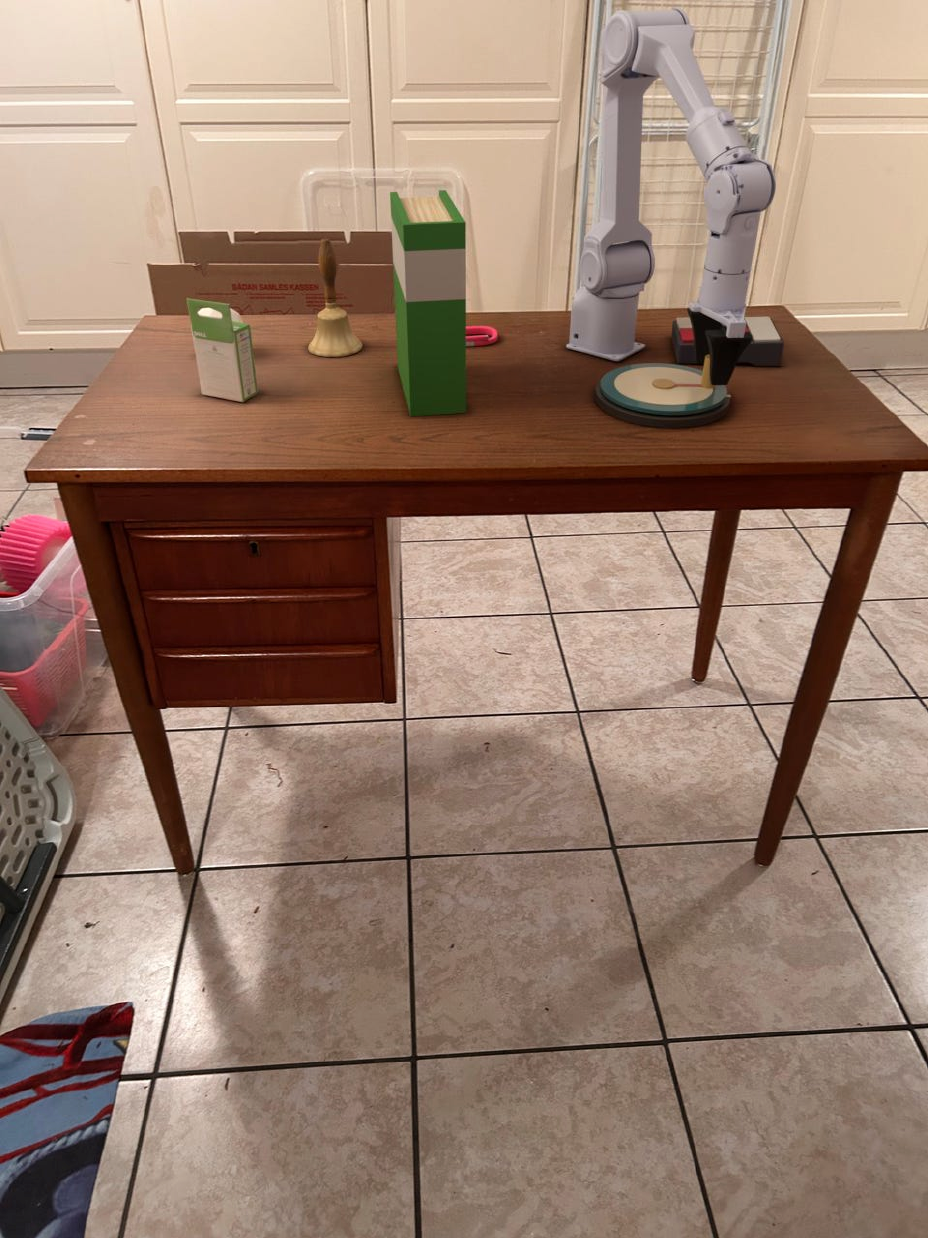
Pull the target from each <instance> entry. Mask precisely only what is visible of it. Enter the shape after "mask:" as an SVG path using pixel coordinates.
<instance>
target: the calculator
mask: <svg viewBox="0 0 928 1238" xmlns="http://www.w3.org/2000/svg"><path fill="white" fill-rule="evenodd" d="M744 320H745V322H746V327H745V332H750V333H751V334H752V336H753V338H752V341H751V343H750V344H749V345H748V346H747V347H746V349H745V350H744V351H743V353H742V354H741V356H740V358H739V360H738V362H737V364H739V363H740V364H741V363H748V364H751V365H752V366H754V367H779V366H781V365H782V359H783V352H784V345H785V342H784V339H783V337H782V335H781V333H780V332H779V329H778V328H777V326H776V324H775V322H774V320H773V318H771V317H770V316H745V317H744ZM670 337H671V338H670V340H671V343H672V347H673V352H674V355H675V359H676V363H677V364H678V365H687V364H689V365H691V364H692V365H693V364H696V365H697V363H696V360H695V351H694V336H693V329H692V324H691V320H690V317H689V316H688V317H676V319H675V320H672V325H671V336H670Z"/></svg>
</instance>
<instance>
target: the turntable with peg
mask: <svg viewBox="0 0 928 1238" xmlns="http://www.w3.org/2000/svg"><path fill="white" fill-rule="evenodd" d="M600 381H601V391H602V393H603V395H604V396H605V397H606V398H607V399H609V400H610V401H612V402H614V403H615V404H617V405H620V406H622V407H625V408H628V409H631V410H635V411H639V412H644V413H650V414H658V415H689V414H696V413H701V412H705V411H709V410H711V409H714V408H716V407H718V406H719V405H721V404H722V403H723V402H724V401H725V399H726V395H727V390H728V389H727V385H711V382H710V355H706V356H705V360H704V363H703V368H702V370H701V369H698V368H694V367H690V366H688V365H687V366H686V365H682V364H675V363H663V362H648V363H634V364H628V365H623V366H621V367H617V368H614V369H613V370H612V369H611V370H610V371H609V372H606V374H604V375H603V377H602V378H601V379H600Z"/></svg>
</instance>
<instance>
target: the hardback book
mask: <svg viewBox="0 0 928 1238" xmlns="http://www.w3.org/2000/svg"><path fill="white" fill-rule="evenodd" d="M389 198H390V221H391V239H392V240H391V243H392V244H391V245H392V246H391V247H392V267H393V288H394V291H393V292H394V309H395V311H394V312H395V332H396V333H395V334H396V351H397V352H396V355H397V357H396V358H397V369H398V373H399V377H400V381H401V384H402V389H403V393H404V396H405V400H406V404H407V408H408V412H409V416H410V417H423V416H438V415H452V414H466V413H467V347H466V336H467V335H466V327H467V273H466V272H467V268H466V267H467V259H466V258H467V257H466V256H467V255H466V254H467V249H466V248H467V245H466V242H467V241H466V240H467V239H466V237H467V234H466V231H467V230H466V229H467V227H466V226H467V224H466V220H465V218H464V217H463V216H462V214H461V212H460V211H459V209H458V208H457V206H456V205H455V203H454V201H453V200H452V198H451V197H450V195H449V193H448V192H447V190H446V189H439V190H438V196H423V197H422V196H420V197H400V195H399V193H398V191H390V192H389Z"/></svg>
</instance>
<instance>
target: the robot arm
mask: <svg viewBox="0 0 928 1238" xmlns="http://www.w3.org/2000/svg"><path fill="white" fill-rule="evenodd" d="M695 40H696V30H695V29H694V27H693V26H692V25H691V21H690V18H689V15H688V14H687V12H686V11H684V9H682V8H679V7H673V8H670V9H657V10H656V9H655V10H653V9H652V10H631V11H628V10H625V9H623V10H622V9H620V10H618V11H615V12H614V13H613V14H611V16H610V18H609V20H608V21H607V23H606V24H605V26H604V28H603V29H602V31H601V33H600V83H601V85H602V129H601V131H602V133H601V135H602V136H601V140H602V141H601V149H602V150H601V191H600V193H601V195H600V199H601V200H600V221H598V223H597V224H596V225H594V227H592V228H591V230H589V231H588V232H587V233H586V234H585V236H584V237H583V250H582V253H581V257H580V260H579V265H578V267H579V270H578V271H579V277H580V280H581V283H582V286H580V287H579V288H578V290H576V292H575V293H574V297H573V300H572V303H571V310H570V311H571V312H570V327H569V341H568V342H569V343H567V344H566V349H569V350H572V351H576V352H579V353H583V354H587V355H591V356H594V357H597V358H602V359H605V360H609V361H613V362H620V361H623V360H625V359H627V358H628V357H630V356H632V355H634V354H636V353H637V352H640V351H641V350H644V349H645V348H646V344H644V343H640V342H638V341H637V342H636V341H635V338H636V329H637V319H638V310H639V301H640V292H644V291H645V285H646V284H647V283H649V282H650V281H651V279H652V278H653V275H654V273H655V267H656V258H655V253H654V249H653V233H652V232H651V230H650V229H649V228H648V227H647V226H645V225H644V223H642V222H641V220H640V195H641V193H640V191H641V164H642V161H641V160H642V140H643V139H642V138H643V135H642V134H643V109H644V108H643V107H644V94H645V93H646V92H647V91H648V90H649V88H650V86H651V85H652V84H653V83H654V82H655V81H657V80H659V79H661V80H662V81H661V82H663V84H664V86H665V88H666V89H667V91H668V92H669V94H670V95H671V97H672V99H673V100H674V102H675V103H676V105H677V107H678V109H679V110H680V112H681V113H682V114H683V116H684V118H685V120H686V121H687V123H688V127H687V129H686V132H685V141H686V144H687V146H688V147H689V149H690V151H691V154H692V155H693V157H694V159H695V161H696V163H697V166H698V167H699V170H700V172H701V174H702V176H703V177H704V180H705V181H706V183H707V184H706V186H703V200H704V201H703V202H704V206H705V208H706V213H707V214H706V220H705V224H706V228H707V230H709V231H708V236H707V243H706V251H705V258H704V266H703V272H702V273H703V274H702V280H701V286H699V290H698V297H697V301H690V302H689V306H688V307H687V309H686V310H687V314H688V317H690V320H691V324H692V329H693V336H694V351H695V360H696V363H697V364H699V365H700V364H704V360H705V356H706V355H710V382H711V385H725V386H728V384H729V382H730V380H731V378H732V376H733V373H734V371H735V368H736V366H737V364H738V363H737V362H738V360H739V358H740V356H741V354H742V353H743V351H744V350H745V349H746V347H747V346H748V345H749V344H750V343H751V341H752V338H753V336H752V334H751V333H750V332H745V327H746V322H745V320H744V319H745V317H746V312H747V303H746V301H747V294H748V290H749V283H750V277H751V271H752V267H753V261H754V254H755V249H756V244H757V239H758V238H757V237H758V232H759V224H760V220H761V214H762V213H763V212H764V211H766V210H767V209H768V208H769V207H770V206H771V204H772V203H773V201H774V198H775V194H776V189H777V181H776V180H777V179H776V176H775V172H774V170H773V165H772V164H771V163H770V162H769V161H767V160H765V159H764V158H763V159H762V158H759V157H758V156H757V154H756V153H751V151H750V148H749V146H748V145H747V142H746V141H745V139H744V137H743V135H742V133H741V131H740V129H739V127H738V125H737V124H736V118H735V115H734V114H733V112H732V111H730V110H729V109H728V108H725V107H722V106H721V107H719V106H718V107H717V106H715V105H716V104H715V103H714V100H713V98H712V95H711V93H710V90H709V88H708V86H707V82H706V80H705V78H704V75H703V73H702V70H701V68H700V65H699V62H698V61H697V58H696V55H695V53H694V46H695ZM697 364H696V365H697Z"/></svg>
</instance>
